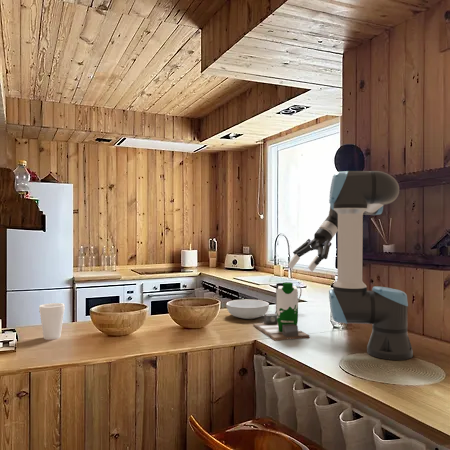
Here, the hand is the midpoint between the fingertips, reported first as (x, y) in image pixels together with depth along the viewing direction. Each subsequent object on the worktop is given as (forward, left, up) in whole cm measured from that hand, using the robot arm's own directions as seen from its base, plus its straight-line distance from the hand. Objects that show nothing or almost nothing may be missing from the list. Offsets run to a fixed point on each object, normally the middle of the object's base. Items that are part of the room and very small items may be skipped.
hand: (299, 268), depth 196 cm
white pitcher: (+31, -9, -27) cm, 42 cm away
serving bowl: (+28, +14, -27) cm, 41 cm away
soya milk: (-6, +8, -25) cm, 27 cm away
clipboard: (-3, +10, -26) cm, 28 cm away
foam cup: (+12, +102, -27) cm, 106 cm away
